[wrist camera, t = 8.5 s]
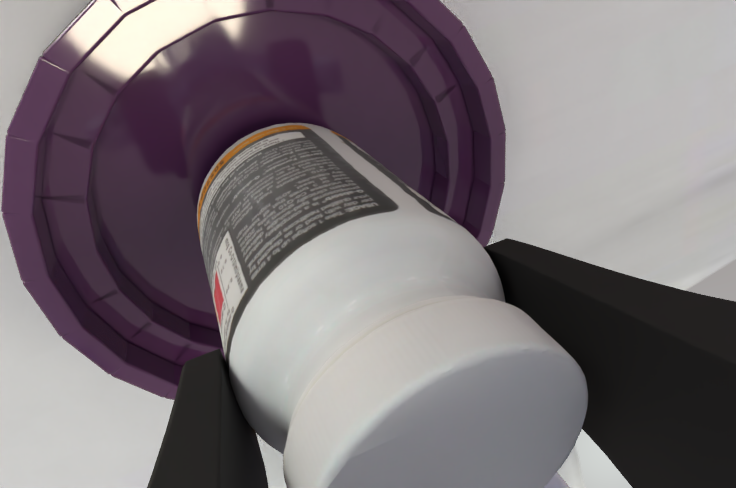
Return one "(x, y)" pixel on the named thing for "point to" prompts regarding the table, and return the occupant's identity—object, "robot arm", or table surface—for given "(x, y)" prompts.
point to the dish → (219, 148)
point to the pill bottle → (374, 326)
